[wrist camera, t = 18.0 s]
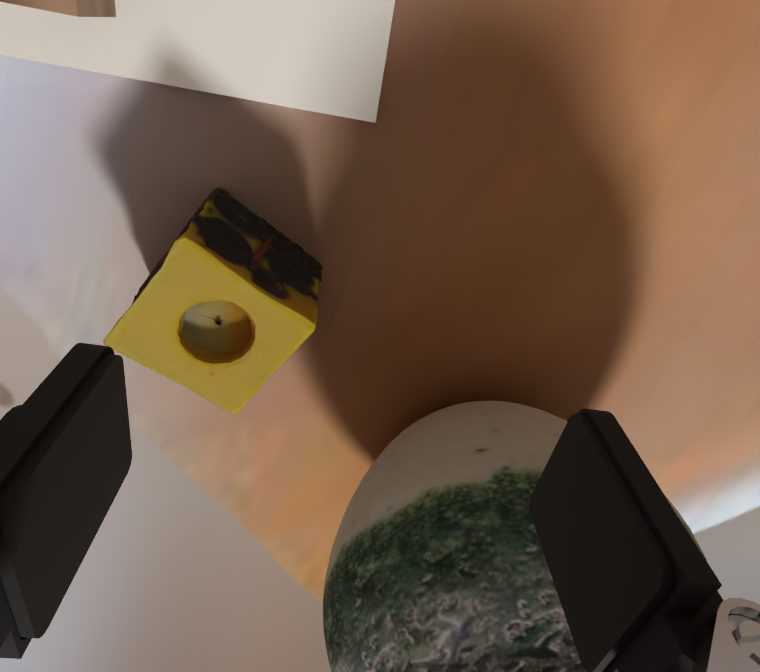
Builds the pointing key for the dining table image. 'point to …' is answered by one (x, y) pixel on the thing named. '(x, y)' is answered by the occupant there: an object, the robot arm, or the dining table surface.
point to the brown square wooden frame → (71, 7)
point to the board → (223, 47)
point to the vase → (450, 551)
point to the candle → (222, 305)
